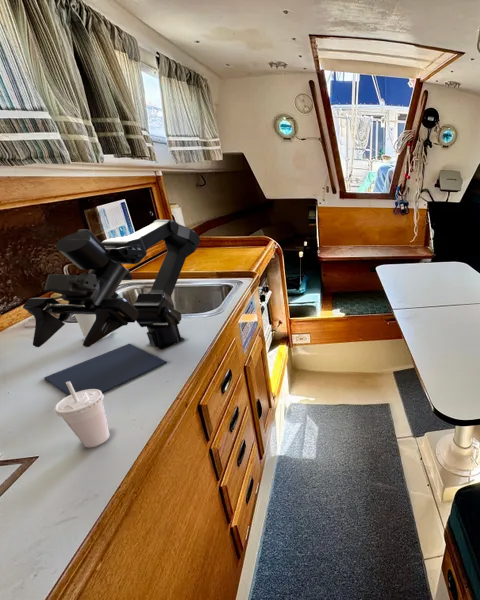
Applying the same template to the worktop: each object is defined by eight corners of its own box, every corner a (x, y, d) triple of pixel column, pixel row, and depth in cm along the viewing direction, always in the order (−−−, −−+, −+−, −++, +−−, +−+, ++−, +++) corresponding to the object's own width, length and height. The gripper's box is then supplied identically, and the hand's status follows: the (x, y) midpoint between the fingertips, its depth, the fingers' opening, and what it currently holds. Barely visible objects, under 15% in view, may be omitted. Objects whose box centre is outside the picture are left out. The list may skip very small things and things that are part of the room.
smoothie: (67, 458, 58) (34, 396, 52) (82, 432, 63) (54, 374, 58) (112, 447, 60) (85, 387, 55) (123, 423, 66) (99, 366, 60)
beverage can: (109, 329, 100) (95, 294, 95) (116, 336, 97) (102, 299, 92) (82, 337, 95) (67, 300, 90) (89, 344, 92) (73, 306, 87)
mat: (130, 344, 92) (129, 343, 92) (167, 362, 85) (166, 361, 85) (44, 379, 78) (43, 377, 77) (80, 404, 70) (79, 402, 70)
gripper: (24, 258, 65) (-34, 325, 56) (121, 259, 66) (79, 325, 57) (67, 291, 74) (24, 353, 65) (152, 292, 75) (121, 353, 66)
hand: (60, 346), depth 63 cm, fingers open, 9 cm apart
